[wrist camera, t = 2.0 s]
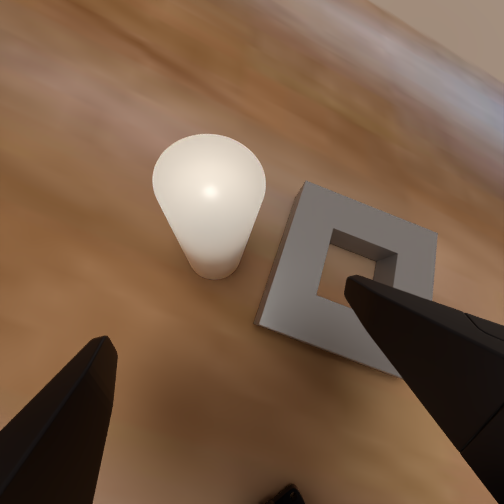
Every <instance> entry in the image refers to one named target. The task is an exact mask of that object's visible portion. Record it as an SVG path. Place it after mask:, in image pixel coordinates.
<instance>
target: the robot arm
mask: <svg viewBox="0 0 504 504" xmlns="http://www.w3.org/2000/svg"><path fill="white" fill-rule="evenodd" d="M344 295H345V298H346V300H347V301H348V303H349V304H350V306H351V308H352V309H353V311H354V313H355V314H356V316H357V317H358V319H359V321H360V322H361V324H362V325H363V327H364V328H365V330H366V331H367V333H368V334H369V335H370V337H371V338H372V339H373V340H374V342H375V343H376V344H377V346H378V347H379V348H380V350H381V351H382V352H383V353H384V355H385V356H386V357H387V359H388V360H389V361H390V363H391V364H392V365H393V367H394V368H395V369H396V370H397V372H398V373H399V374H400V376H401V377H402V378H403V380H404V381H405V382H406V383H407V385H408V386H409V387H410V389H411V390H412V391H413V393H414V394H415V395H416V397H417V398H418V399H419V400H420V402H421V403H422V404H423V406H424V407H425V408H426V410H427V411H428V412H429V413H430V415H431V416H432V417H433V419H434V420H435V421H436V423H437V424H438V425H439V427H440V428H441V429H442V430H443V432H444V433H445V434H446V436H447V437H448V438H449V440H450V441H451V442H452V443H453V445H454V446H455V447H456V449H457V450H458V451H459V452H460V454H461V455H462V457H463V458H464V459H465V461H466V462H467V463H468V465H469V466H470V467H471V469H472V470H473V471H474V472H475V474H476V475H477V476H478V478H479V479H480V480H481V482H482V483H483V484H484V485H485V487H486V488H487V489H488V491H489V492H490V493H491V495H492V496H493V497H494V498H495V500H496V501H497V502H498V504H504V326H503V325H500V324H497V323H494V322H491V321H488V320H485V319H482V318H479V317H476V316H474V315H471V314H468V313H463V312H462V311H459V310H456V309H454V308H451V307H448V306H445V305H442V304H439V303H436V302H434V301H431V300H428V299H425V298H422V297H419V296H416V295H414V294H411V293H408V292H405V291H402V290H399V289H396V288H394V287H391V286H388V285H385V284H382V283H379V282H377V281H374V280H371V279H368V278H365V277H362V276H359V275H354V276H349V277H348V278H347V279H346V285H345V290H344ZM117 359H118V355H117V351H116V349H115V347H114V346H113V344H112V342H111V340H110V338H109V337H108V336H101V337H97V338H93V339H92V340H90V341H89V342H88V343H87V344H86V345H85V346H84V347H83V348H82V349H81V350H80V351H79V352H78V353H77V355H76V356H75V357H74V358H73V359H72V360H71V361H70V362H69V363H68V364H67V365H66V366H65V367H64V368H63V369H62V370H61V371H60V372H59V373H58V374H57V375H56V376H55V377H54V378H53V379H52V380H51V381H50V382H49V383H48V384H47V385H46V386H45V387H44V388H43V389H42V390H41V391H40V392H39V393H38V394H37V395H36V396H35V397H34V398H33V399H32V400H31V401H30V402H29V403H28V404H27V405H26V406H25V407H24V408H23V409H22V410H21V411H20V412H19V413H18V414H17V415H16V416H15V417H14V418H13V419H12V420H11V421H10V422H9V423H8V424H7V425H6V426H5V427H4V428H3V429H2V430H1V431H0V504H92V503H93V499H94V494H95V489H96V484H97V480H98V475H99V470H100V465H101V460H102V456H103V451H104V446H105V441H106V437H107V432H108V427H109V422H110V417H111V413H112V407H113V400H114V390H115V380H116V370H117ZM293 492H295V495H294V496H293V497H290V495H291V493H293ZM265 504H305V502H304V500H303V498H302V496H301V494H300V492H299V490H298V488H297V487H296V486H295V485H293V484H291V485H289V486H287V487H286V488H285V489H284V490H283V491H282V492H280V493H279V494H278V495H277V496H276V497H275V498H273V499H272V500H269V501H268V502H266V503H265Z"/></svg>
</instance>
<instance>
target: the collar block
mask: <svg viewBox="0 0 504 504" xmlns="http://www.w3.org/2000/svg"><path fill="white" fill-rule="evenodd" d="M437 235H438V233H436V232H433V231H431V230H428V229H426V228H423V227H421V226H418V225H416V224H413V223H411V222H408V221H406V220H403V219H401V218H398V217H396V216H393V215H391V214H388V213H386V212H383V211H381V210H378V209H376V208H373V207H371V206H368V205H366V204H363V203H361V202H358V201H356V200H353V199H351V198H348V197H346V196H343V195H341V194H338V193H336V192H333V191H331V190H328V189H326V188H323V187H321V186H318V185H316V184H313V183H311V182H308V181H305V183H304V184H303V186H302V188H301V189H300V191H299V192H298V194H297V196H296V198H295V201H294V204H293V207H292V210H291V213H290V216H289V219H288V222H287V225H286V228H285V231H284V234H283V237H282V240H281V243H280V245H279V248H278V251H277V254H276V257H275V260H274V263H273V266H272V269H271V272H270V275H269V278H268V281H267V284H266V287H265V290H264V293H263V296H262V299H261V302H260V305H259V308H258V311H257V314H256V317H255V320H254V323H253V324H256V325H258V326H261V327H264V328H266V329H269V330H272V331H274V332H277V333H280V334H282V335H285V336H288V337H290V338H293V339H296V340H298V341H301V342H304V343H306V344H309V345H312V346H314V347H317V348H319V349H322V350H325V351H327V352H330V353H333V354H335V355H338V356H341V357H343V358H346V359H349V360H351V361H354V362H357V363H359V364H362V365H365V366H367V367H370V368H373V369H375V370H378V371H381V372H383V373H386V374H389V375H391V376H394V377H397V378H400V379H403V378H402V377H401V376H400V374H399V373H398V372H397V370H396V369H395V368H394V367H393V365H392V364H391V363H390V361H389V360H388V359H387V357H386V356H385V355H384V353H383V352H382V351H381V350H380V348H379V347H378V346H377V344H376V343H375V342H374V340H373V339H372V338H371V337H370V335H369V334H368V333H367V331H366V330H365V328H364V327H363V325H362V324H361V322H360V321H359V319H358V317H357V316H356V314H355V313H354V311H353V309H351V308H348V307H346V306H343V305H341V304H338V303H335V302H333V301H330V300H328V299H325V298H322V297H320V296H317V295H316V294H317V290H318V286H319V282H320V278H321V274H322V270H323V266H324V262H325V258H326V255H327V251H328V247H329V243H331V244H333V245H336V246H338V247H341V248H344V249H346V250H349V251H351V252H354V253H356V254H359V255H361V256H364V257H366V258H369V259H372V260H374V261H376V267H375V273H374V279H373V280H374V281H377V282H379V283H382V284H385V285H388V286H391V287H394V288H396V289H399V290H402V291H405V292H408V293H411V294H414V295H416V296H419V297H422V298H425V299H428V300H431V301H432V296H433V284H434V272H435V260H436V247H437Z"/></svg>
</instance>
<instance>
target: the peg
mask: <svg viewBox="0 0 504 504" xmlns="http://www.w3.org/2000/svg"><path fill="white" fill-rule="evenodd" d="M153 189H154V193H155V196H156V198H157V200H158V202H159V204H160V206H161V208H162V210H163V212H164V214H165V216H166V218H167V220H168V222H169V224H170V226H171V228H172V230H173V232H174V234H175V236H176V238H177V240H178V242H179V244H180V246H181V248H182V250H183V252H184V254H185V256H186V258H187V260H188V262H189V264H190V266H191V267H192V269H193V270H194V271H195V272H196V273H197V274H198V275H199V276H201V277H203V278H206V279H210V280H218V279H223V278H225V277H228V276H229V275H231V274H232V273H233V272H234V271H235V270H236V269H237V267H238V265H239V263H240V260H241V258H242V255H243V252H244V250H245V247H246V244H247V241H248V239H249V236H250V233H251V231H252V228H253V225H254V223H255V220H256V217H257V214H258V212H259V209H260V206H261V204H262V201H263V198H264V195H265V190H266V179H265V174H264V171H263V168H262V166H261V164H260V162H259V160H258V159H257V158H256V156H255V155H254V154H253V153H252V152H251V151H250V150H249V149H248V148H247V147H245V146H244V145H242V144H241V143H239V142H237V141H236V140H233V139H231V138H228V137H225V136H221V135H216V134H198V135H193V136H189V137H186V138H183V139H181V140H179V141H177V142H175V143H173V144H172V145H171V146H169V147H168V148H167V149H166V150H165V151H164V152H163V153H162V154H161V156H160V157H159V159H158V161H157V163H156V165H155V168H154V172H153Z"/></svg>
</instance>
